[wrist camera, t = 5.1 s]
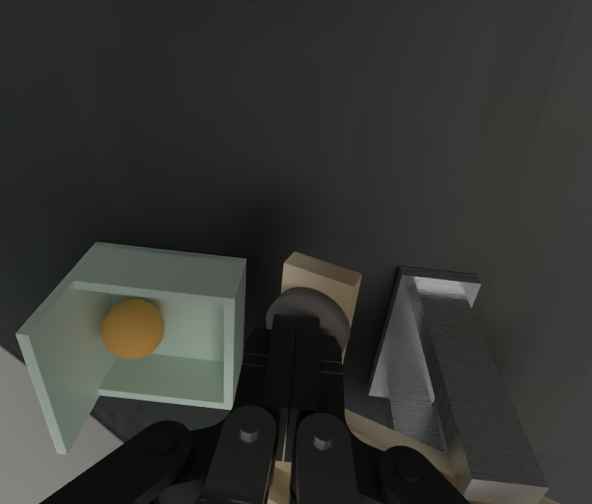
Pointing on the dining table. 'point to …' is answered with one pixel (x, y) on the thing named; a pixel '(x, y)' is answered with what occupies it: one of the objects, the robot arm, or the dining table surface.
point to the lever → (337, 322)
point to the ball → (133, 329)
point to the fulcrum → (452, 387)
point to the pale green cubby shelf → (157, 365)
